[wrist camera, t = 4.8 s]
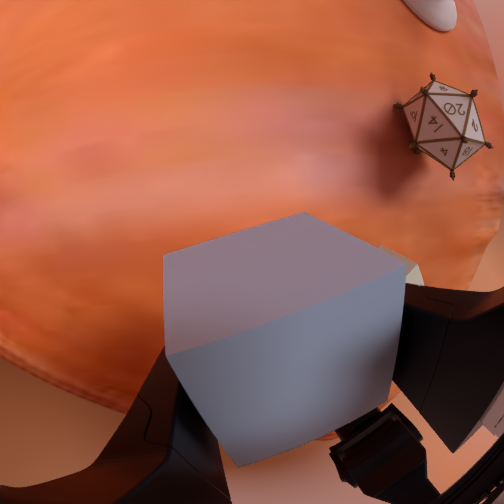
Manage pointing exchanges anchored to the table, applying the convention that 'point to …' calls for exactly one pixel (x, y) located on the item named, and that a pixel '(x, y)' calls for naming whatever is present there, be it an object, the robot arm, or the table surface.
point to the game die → (444, 124)
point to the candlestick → (435, 12)
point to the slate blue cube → (282, 332)
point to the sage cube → (407, 267)
